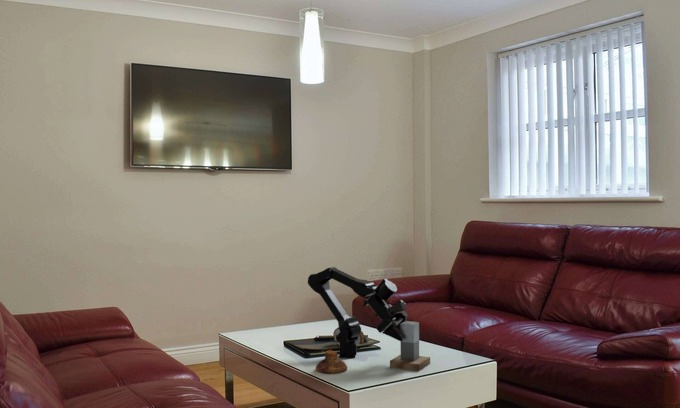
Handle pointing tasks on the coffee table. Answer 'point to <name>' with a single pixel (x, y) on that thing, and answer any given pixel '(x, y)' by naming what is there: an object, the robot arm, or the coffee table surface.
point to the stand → (410, 363)
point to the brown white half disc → (359, 341)
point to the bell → (331, 364)
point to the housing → (409, 340)
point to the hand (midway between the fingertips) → (406, 338)
